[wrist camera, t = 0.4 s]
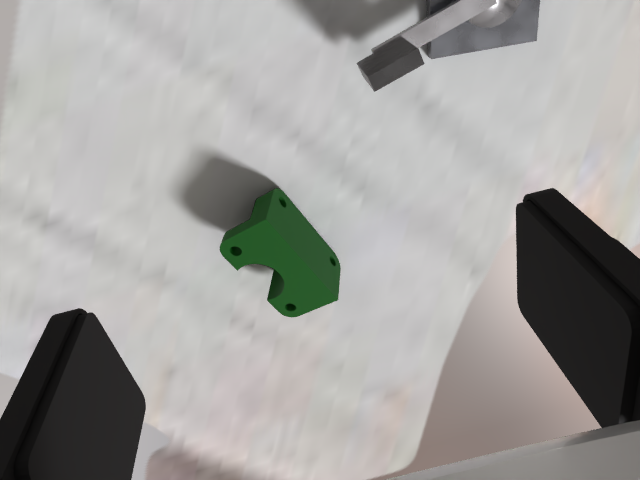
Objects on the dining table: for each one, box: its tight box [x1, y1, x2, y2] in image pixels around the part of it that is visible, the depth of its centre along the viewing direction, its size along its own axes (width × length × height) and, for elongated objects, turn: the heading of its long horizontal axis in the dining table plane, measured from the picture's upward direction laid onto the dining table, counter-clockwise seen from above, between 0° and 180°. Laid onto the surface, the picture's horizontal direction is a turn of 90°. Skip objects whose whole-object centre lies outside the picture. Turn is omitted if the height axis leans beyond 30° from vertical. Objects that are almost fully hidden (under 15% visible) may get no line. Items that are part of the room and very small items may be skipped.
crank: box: [357, 0, 521, 92], centre depth 39 cm, size 14×5×6 cm, turn 118°
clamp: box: [220, 188, 340, 317], centre depth 49 cm, size 12×6×9 cm, turn 28°
